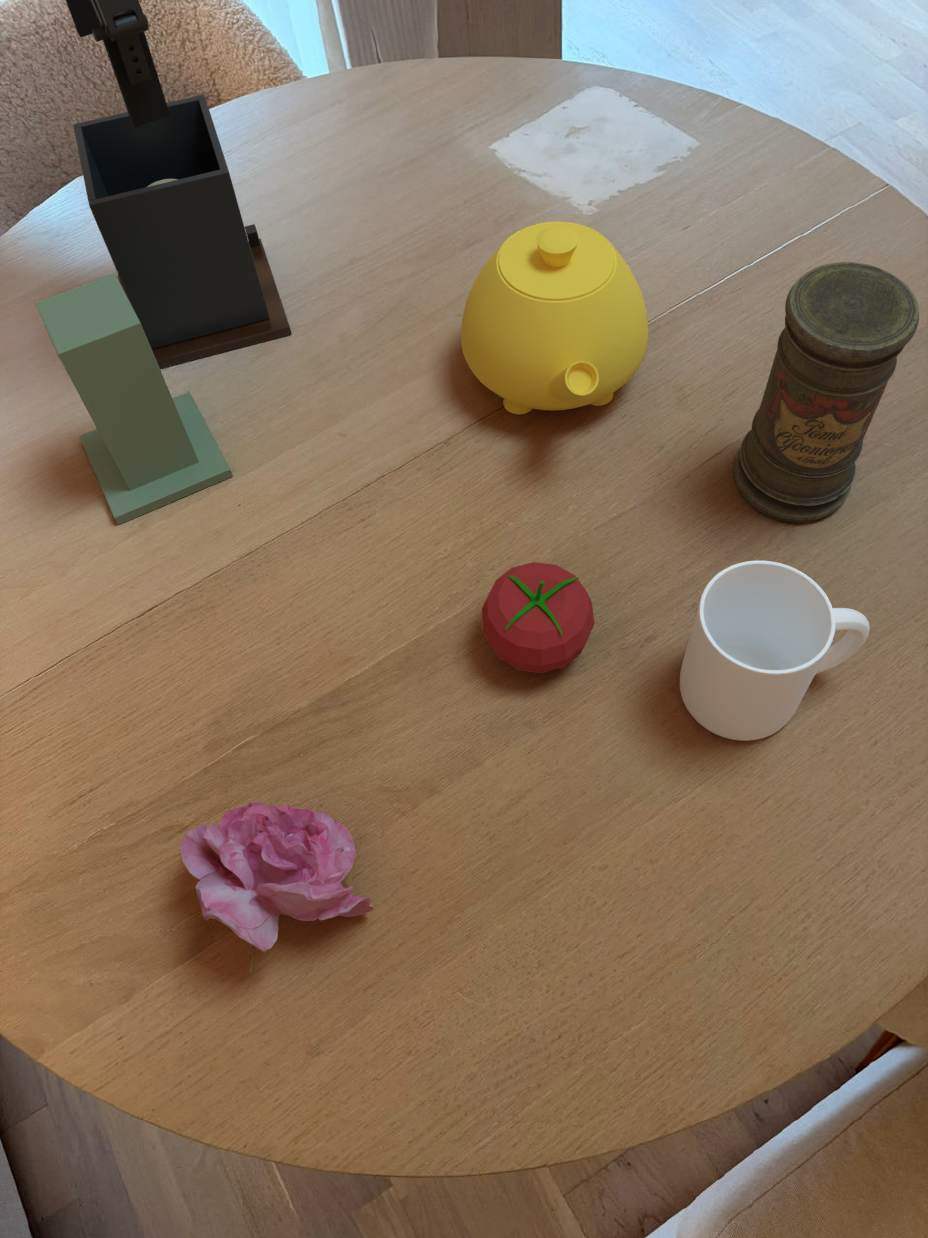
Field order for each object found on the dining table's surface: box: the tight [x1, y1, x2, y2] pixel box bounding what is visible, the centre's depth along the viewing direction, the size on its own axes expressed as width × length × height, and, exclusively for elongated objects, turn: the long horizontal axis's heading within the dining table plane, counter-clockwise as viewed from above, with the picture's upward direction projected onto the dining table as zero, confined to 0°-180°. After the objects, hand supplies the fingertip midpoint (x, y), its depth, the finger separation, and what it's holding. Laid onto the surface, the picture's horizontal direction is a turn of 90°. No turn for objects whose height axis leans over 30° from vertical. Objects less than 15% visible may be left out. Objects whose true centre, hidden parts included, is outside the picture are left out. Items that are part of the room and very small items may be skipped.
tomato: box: [481, 561, 595, 674], centre depth 71 cm, size 8×8×8 cm
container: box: [733, 261, 920, 524], centre depth 73 cm, size 9×9×18 cm
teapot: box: [460, 220, 649, 415], centre depth 81 cm, size 20×16×14 cm
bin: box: [72, 94, 270, 349], centre depth 87 cm, size 11×11×15 cm
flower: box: [180, 801, 374, 974], centre depth 62 cm, size 11×10×10 cm
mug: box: [679, 560, 871, 742], centre depth 67 cm, size 12×8×10 cm
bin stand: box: [117, 223, 293, 370], centre depth 94 cm, size 13×14×3 cm
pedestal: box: [34, 273, 234, 525], centre depth 78 cm, size 10×10×16 cm
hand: (122, 72), depth 76 cm, fingers open, 13 cm apart
